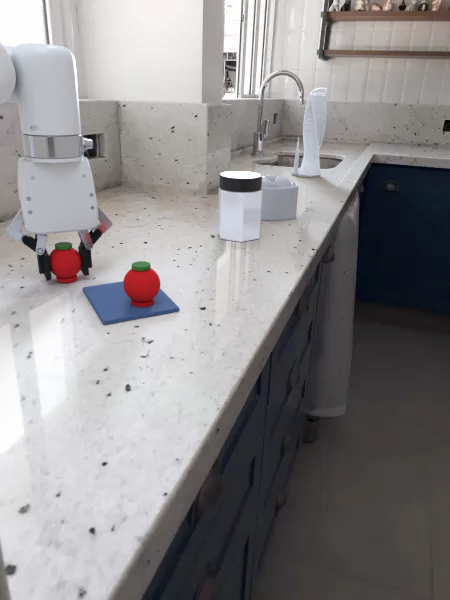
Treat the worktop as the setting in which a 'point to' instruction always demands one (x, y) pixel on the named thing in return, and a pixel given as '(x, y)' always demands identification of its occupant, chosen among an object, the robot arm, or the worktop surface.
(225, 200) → the jar
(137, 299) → the red round lidded pot
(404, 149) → the worktop surface
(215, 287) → the worktop surface
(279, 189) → the lumpy-topped squat cylinder
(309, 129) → the skyscraper
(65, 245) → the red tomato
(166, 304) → the cloth
